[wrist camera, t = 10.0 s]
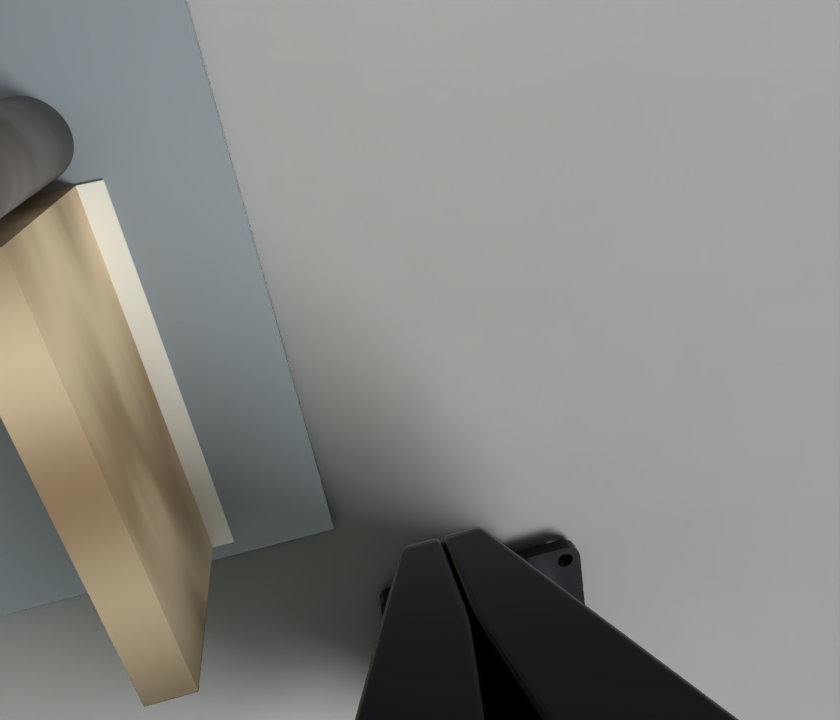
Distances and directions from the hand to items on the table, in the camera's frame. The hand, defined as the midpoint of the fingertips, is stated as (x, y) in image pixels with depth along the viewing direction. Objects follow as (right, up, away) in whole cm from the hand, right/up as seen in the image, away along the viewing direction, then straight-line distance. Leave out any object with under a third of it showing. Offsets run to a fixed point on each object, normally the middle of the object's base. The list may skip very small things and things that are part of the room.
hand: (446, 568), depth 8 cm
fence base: (-8, +2, +11) cm, 13 cm away
